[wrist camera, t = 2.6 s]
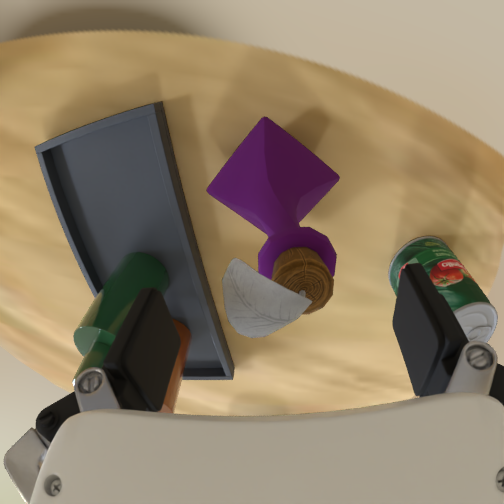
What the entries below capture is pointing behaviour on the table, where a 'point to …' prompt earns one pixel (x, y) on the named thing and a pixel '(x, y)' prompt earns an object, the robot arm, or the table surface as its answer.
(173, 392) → the amber bottle
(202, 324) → the tray
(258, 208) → the perfume bottle
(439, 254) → the canned tomato
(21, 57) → the table surface
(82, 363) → the green bottle
